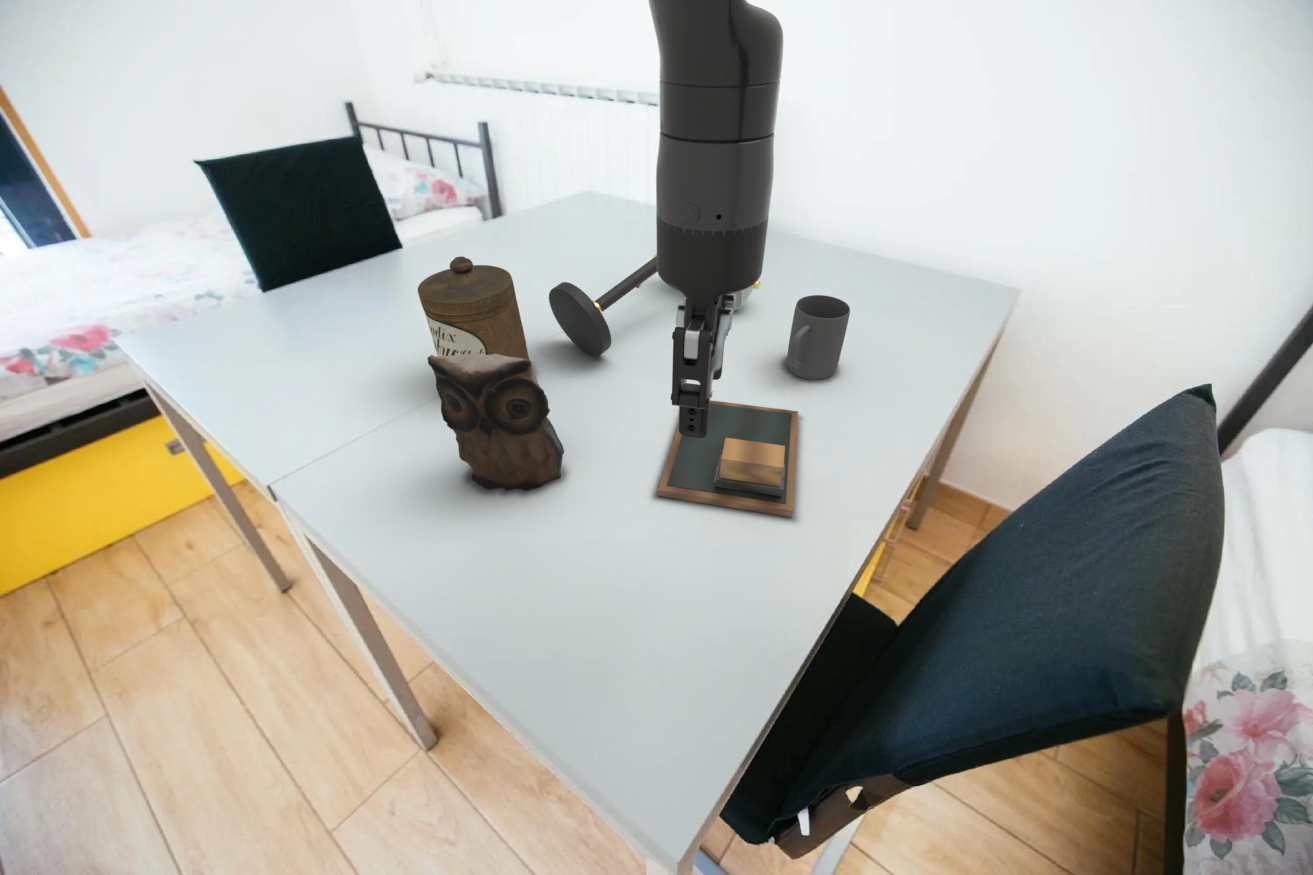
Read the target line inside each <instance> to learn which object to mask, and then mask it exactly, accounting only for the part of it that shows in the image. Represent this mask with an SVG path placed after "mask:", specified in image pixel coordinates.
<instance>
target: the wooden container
mask: <svg viewBox="0 0 1313 875" xmlns="http://www.w3.org/2000/svg"><path fill="white" fill-rule="evenodd" d="M515 290H516V289H515V285H514V281H513V277H512V275H511V273H510V272H509V271H508V270H506V269H505V268H502V267H499V266H494V265H489V264H474V263H473V261H472V260H471V259H470V258H467V257H465V256H456V257H453V259H452V260H451V261H450V263H449V268H447V269H444V270H441V271H439V272H435V273H433V274H431V275H429V276H427V277H426V278H424V279H423V280H422V281H421V282H420V283H419V285H418V286H417V293H418V294H417V295H418V298H419V301H420V304H421V307H422V310H423V312H424V314H425V315H424V316H425V317H426V321H427V324H428V328H429V331H430V335H431V338H432V342H433V347H434V349H435V350H434V351H435V353H436V357H438V356H454V355H460V354H476V353H477V354H484V355H492V354H499V355H503V356H507V357H515V358H522V359H528V360H530V357H529V351H528V346H527V341H526V336H525V332H524V328H523V327H524V326H523V323H522V316H521V313H520V309H519V304H518V300H517V294H516V291H515ZM530 370H531V371H532V368H531V369H530Z"/></svg>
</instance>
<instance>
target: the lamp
mask: <svg viewBox="0 0 1313 875" xmlns="http://www.w3.org/2000/svg"><path fill="white" fill-rule="evenodd" d="M657 273H658V272H657V253H655V254H654V255H653V258H651V259H650V260H649V261H648V262H646V263H645V264H643V265H642V266H641V267H639V268H638V269H637V270H635V271H634V272H632V273H631V274H629V275H628V276H626V277H625V278H624V279H622V280H621V281H620V282H619V283H617V284H616V285H614V286H613V287H612V288H610V289H608V290H607V291H606V292H605V293H604V294H602V295H601V296H599V297H598V298H596V299H595V300H592V298H591V297H590V296H589V295H588V294H586V293H585V291H583V289H581V288H580V287H579V286H577V285H575V284H574V283H571V282H568V281H562V282H561V283H559V284H557V285H556V286H554V287H553V288H551V289H550V291H549V293H548V303H549V306H550V309H551V312H552V315H553V317H554V318H555V320H556V321H557V322H556V323H558V325H559V327H560V328H561V330H562V331H563V332H564V334H565V335H566V336H567V338H569V340H570V341H571V342H572V343H573V344H574V345H575V346H576V347H577V348H579V349H580V350H581V351H582V352H584V353H585V354H587V355H589V356H592V357H599V356H601V355H603V353H606V352H607V351H608V350H609V349H610V348H611V346H612V335H611V331H610V328H609V325H608V322H607V321H606V319H605V317H604V315H603V312H605V311H606V310H607V309H609V308H610V307H611V306H613V305H614V304H615V303H617V302H618V301H620V300H621V299H623V297H625V296H626V295H627V294H629V293H630V292H632V291H633V290H634V289H635V288H637V289H640V288H641V286H642V284H644V283H645V282H646V281H647V280H649V279H650V278H651V277H653V276H654V275H655V274H657ZM761 285H762V284H761V281H759V280H757V282H756V283H754V284H753V285H752V286H750V287H748V288H746V289H744V290H741V291H738V292H734V293H733V292H732V294H736V303H735V309H734V311H737V310H740V309H741V308H742V307H743V305H744V304H745V303H746V302H747V300H748V299H749V297H750V296H751V294H752V293H753V290H754V289H755V290H759V289H760V287H761Z"/></svg>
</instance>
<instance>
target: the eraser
mask: <svg viewBox="0 0 1313 875" xmlns="http://www.w3.org/2000/svg"><path fill="white" fill-rule="evenodd" d="M784 453H785V446H783V445H775V444H768V443H761V442H753V441H746V440H739V439H732V438H725V442H724V447H723V452H722V455H720V459H719V464H718V469H717V473H716V478H715V487H721V488H727V489H734V490H740V491H747V492H753V493H760V494H766V495H773V496H779V497H782V494H783V489H784V474H785V464H784Z"/></svg>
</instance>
